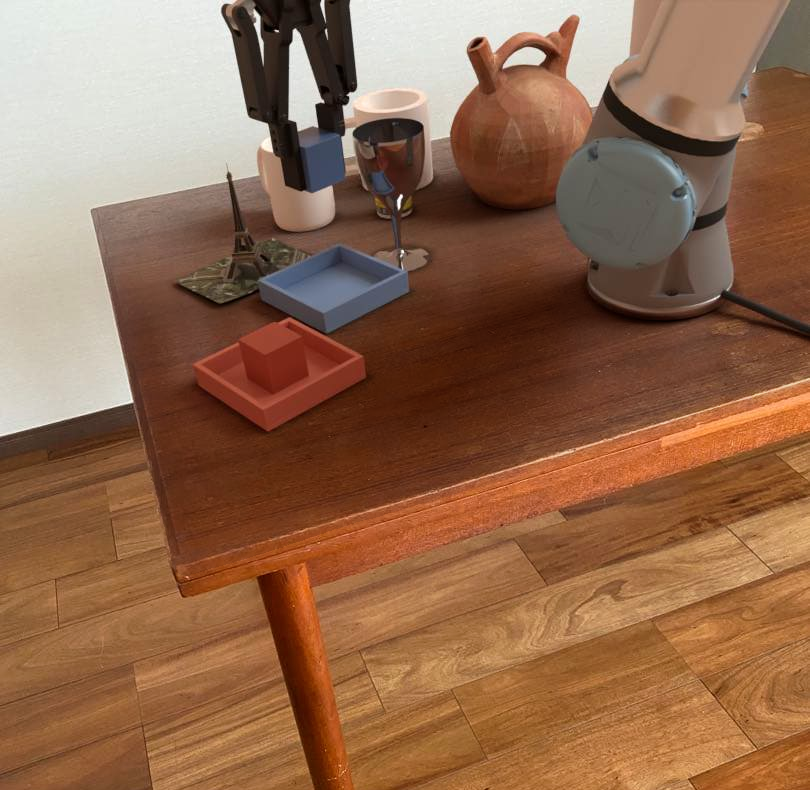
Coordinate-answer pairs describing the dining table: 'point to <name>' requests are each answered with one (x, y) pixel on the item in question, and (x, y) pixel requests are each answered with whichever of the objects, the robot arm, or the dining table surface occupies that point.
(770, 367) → the dining table surface
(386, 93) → the mug
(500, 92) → the jug
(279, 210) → the cup
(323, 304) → the blue tray
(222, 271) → the eiffel tower figurine
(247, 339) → the red block
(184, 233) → the dining table surface
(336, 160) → the blue block
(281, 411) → the red tray
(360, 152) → the wine glass
